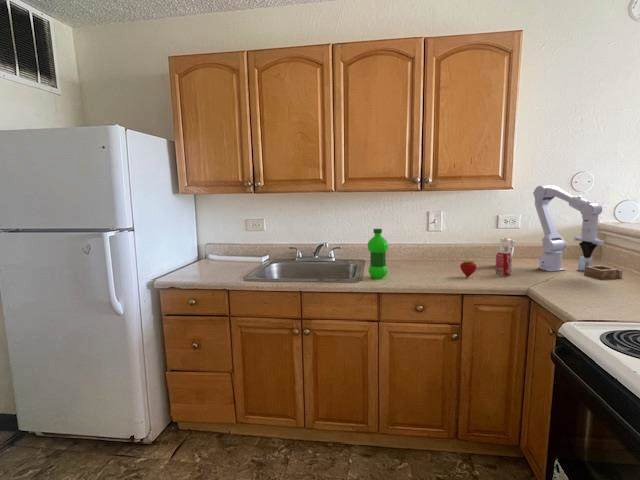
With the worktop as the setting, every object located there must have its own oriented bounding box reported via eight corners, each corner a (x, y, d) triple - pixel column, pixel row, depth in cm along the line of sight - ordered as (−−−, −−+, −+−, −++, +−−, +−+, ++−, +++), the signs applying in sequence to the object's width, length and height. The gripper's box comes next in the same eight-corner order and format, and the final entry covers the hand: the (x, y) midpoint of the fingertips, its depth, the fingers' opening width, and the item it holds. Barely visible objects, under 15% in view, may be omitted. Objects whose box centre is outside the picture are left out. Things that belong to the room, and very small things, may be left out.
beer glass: (514, 265, 195) (516, 238, 193) (510, 268, 190) (512, 240, 188) (501, 264, 200) (502, 237, 198) (497, 266, 195) (498, 239, 193)
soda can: (510, 274, 179) (511, 250, 177) (511, 277, 172) (512, 253, 170) (495, 273, 182) (496, 250, 180) (495, 276, 175) (496, 252, 173)
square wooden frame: (600, 279, 165) (601, 270, 164) (584, 274, 174) (584, 266, 173) (618, 277, 166) (618, 269, 165) (600, 273, 175) (601, 265, 174)
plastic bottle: (371, 274, 188) (370, 227, 184) (390, 276, 183) (390, 228, 179) (365, 279, 179) (364, 230, 175) (385, 281, 174) (385, 230, 170)
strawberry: (475, 279, 172) (476, 259, 170) (459, 277, 175) (459, 258, 174) (476, 276, 177) (477, 256, 175) (460, 275, 180) (461, 255, 179)
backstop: (618, 278, 165) (619, 270, 165) (599, 272, 175) (600, 265, 175) (621, 277, 166) (622, 270, 165) (602, 272, 175) (603, 265, 175)
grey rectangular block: (584, 271, 179) (585, 258, 178) (578, 269, 183) (579, 256, 181) (591, 271, 179) (593, 257, 178) (585, 269, 183) (586, 255, 182)
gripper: (611, 230, 159) (608, 260, 161) (584, 227, 173) (582, 254, 175) (596, 231, 158) (594, 261, 160) (571, 227, 172) (568, 255, 174)
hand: (586, 257), depth 168 cm, fingers closed
